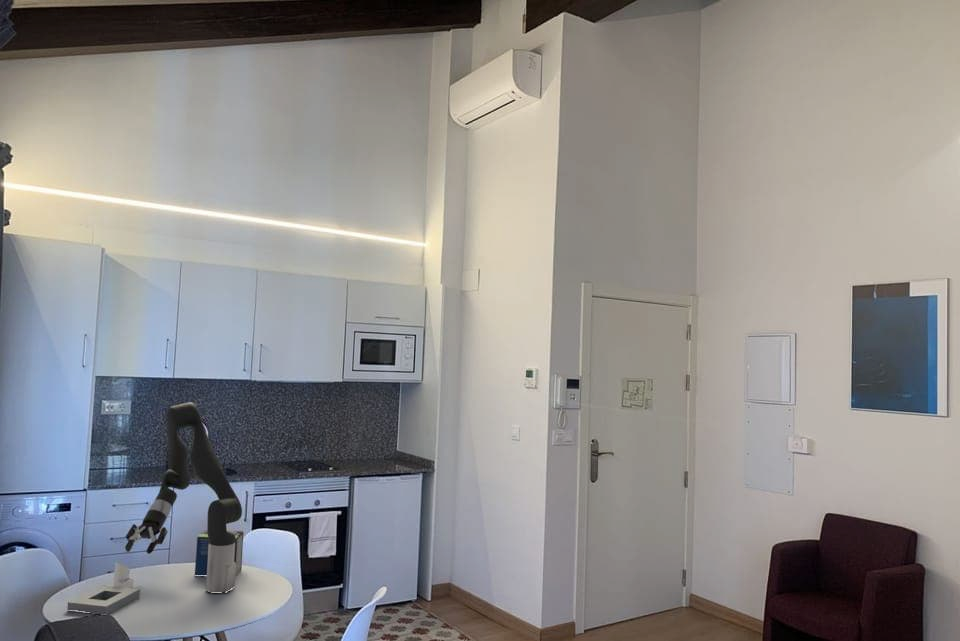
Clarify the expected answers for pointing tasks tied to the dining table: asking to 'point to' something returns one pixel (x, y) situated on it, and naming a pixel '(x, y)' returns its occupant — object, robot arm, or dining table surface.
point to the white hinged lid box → (122, 576)
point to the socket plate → (104, 599)
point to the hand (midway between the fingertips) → (137, 551)
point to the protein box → (203, 552)
